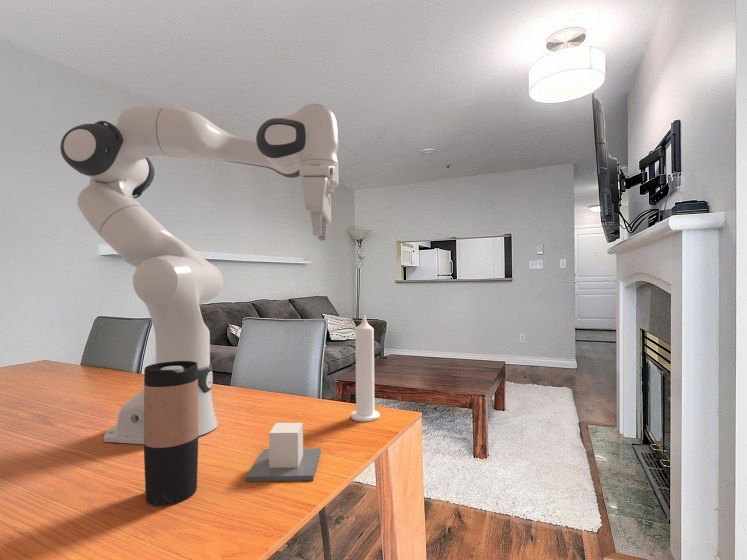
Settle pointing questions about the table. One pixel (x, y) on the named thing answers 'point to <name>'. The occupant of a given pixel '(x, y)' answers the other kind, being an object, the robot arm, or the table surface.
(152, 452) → the travel mug
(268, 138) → the robot arm
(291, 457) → the cream block
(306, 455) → the slate plate
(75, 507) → the table surface
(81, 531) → the table surface
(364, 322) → the candle
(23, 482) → the table surface
